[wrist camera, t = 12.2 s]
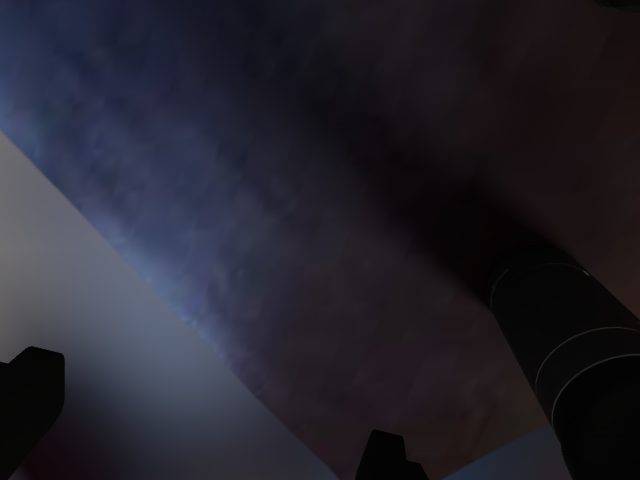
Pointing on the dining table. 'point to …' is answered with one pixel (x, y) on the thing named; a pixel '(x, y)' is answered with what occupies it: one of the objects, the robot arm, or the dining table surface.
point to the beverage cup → (620, 5)
